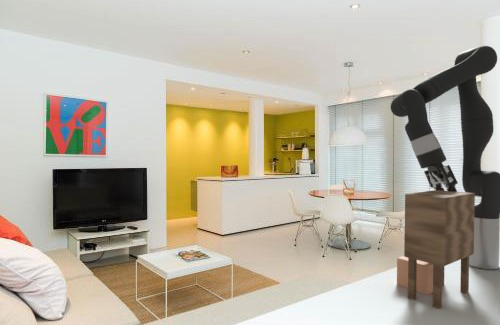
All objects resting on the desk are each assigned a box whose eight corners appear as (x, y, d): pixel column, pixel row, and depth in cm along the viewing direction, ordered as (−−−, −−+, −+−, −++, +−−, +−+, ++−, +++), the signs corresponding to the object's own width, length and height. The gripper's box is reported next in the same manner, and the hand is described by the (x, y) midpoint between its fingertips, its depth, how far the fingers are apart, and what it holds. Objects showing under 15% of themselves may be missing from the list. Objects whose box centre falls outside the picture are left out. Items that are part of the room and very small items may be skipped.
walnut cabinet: (431, 280, 103) (433, 189, 102) (472, 293, 93) (474, 193, 93) (399, 295, 92) (400, 193, 91) (442, 310, 83) (444, 198, 82)
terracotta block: (404, 281, 102) (405, 255, 102) (435, 290, 95) (435, 262, 95) (396, 284, 100) (397, 257, 100) (427, 294, 93) (427, 266, 92)
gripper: (449, 142, 98) (473, 195, 96) (430, 149, 112) (451, 195, 110) (424, 152, 99) (447, 204, 96) (408, 157, 113) (429, 203, 110)
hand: (449, 199), depth 103 cm, fingers open, 8 cm apart
